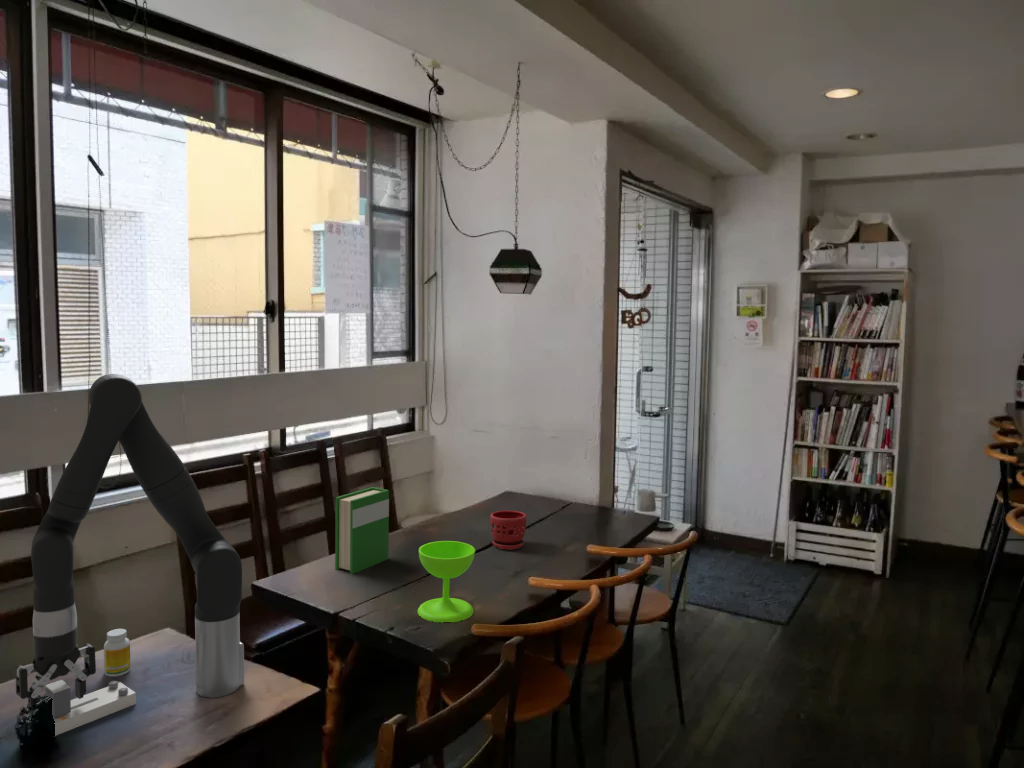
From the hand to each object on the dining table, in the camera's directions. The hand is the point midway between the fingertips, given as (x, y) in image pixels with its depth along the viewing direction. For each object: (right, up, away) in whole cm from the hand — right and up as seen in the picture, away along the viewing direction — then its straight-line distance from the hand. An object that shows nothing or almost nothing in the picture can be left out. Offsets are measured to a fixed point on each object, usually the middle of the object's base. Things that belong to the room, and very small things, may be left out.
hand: (58, 705), depth 151 cm
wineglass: (+73, 0, +63) cm, 96 cm away
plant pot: (+90, +6, +122) cm, 152 cm away
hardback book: (+42, +4, +99) cm, 107 cm away
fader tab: (0, -1, 0) cm, 1 cm away
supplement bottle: (0, -2, +23) cm, 23 cm away
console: (+3, -4, +5) cm, 7 cm away
